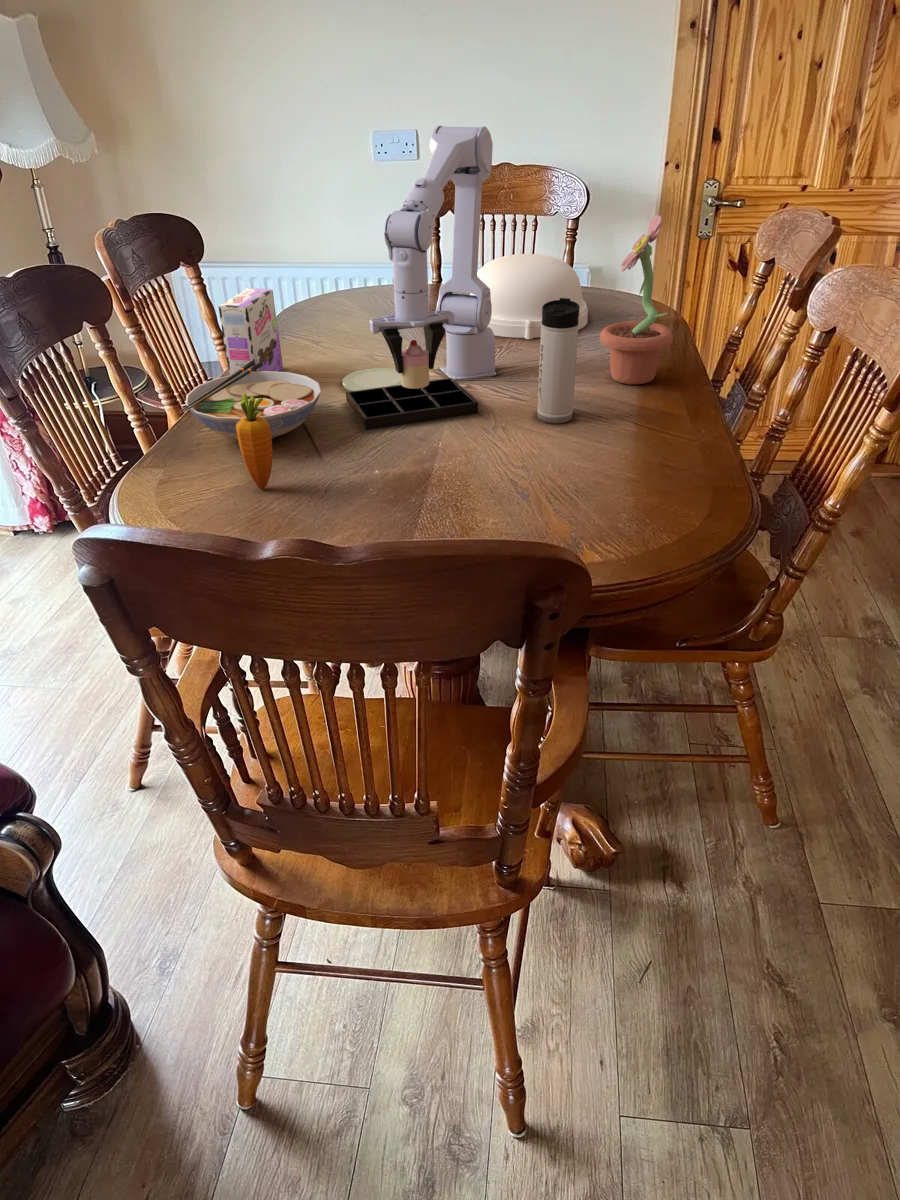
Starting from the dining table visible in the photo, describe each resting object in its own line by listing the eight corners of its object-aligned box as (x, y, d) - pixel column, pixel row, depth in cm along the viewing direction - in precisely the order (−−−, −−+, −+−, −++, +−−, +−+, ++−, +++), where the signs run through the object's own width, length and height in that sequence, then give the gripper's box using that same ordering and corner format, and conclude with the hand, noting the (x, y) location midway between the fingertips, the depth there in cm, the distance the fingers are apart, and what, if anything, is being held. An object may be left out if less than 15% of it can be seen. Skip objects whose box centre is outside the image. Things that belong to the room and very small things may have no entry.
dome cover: (595, 338, 189) (601, 273, 181) (462, 340, 189) (462, 274, 182) (579, 301, 215) (583, 242, 207) (463, 302, 216) (462, 244, 208)
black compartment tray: (346, 404, 158) (345, 392, 156) (452, 389, 163) (451, 377, 162) (365, 432, 146) (364, 419, 145) (478, 415, 152) (478, 402, 151)
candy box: (258, 392, 163) (246, 306, 154) (230, 391, 164) (216, 305, 155) (284, 369, 175) (273, 287, 165) (257, 368, 176) (245, 286, 166)
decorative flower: (598, 364, 174) (612, 206, 158) (667, 367, 172) (687, 208, 155) (594, 388, 162) (608, 221, 146) (667, 392, 160) (690, 222, 143)
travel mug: (575, 412, 152) (583, 299, 141) (568, 425, 147) (575, 309, 136) (542, 408, 154) (547, 296, 143) (533, 421, 149) (538, 306, 138)
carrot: (248, 483, 130) (232, 389, 122) (280, 481, 131) (266, 388, 122) (244, 497, 126) (227, 401, 118) (277, 495, 127) (263, 400, 118)
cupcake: (424, 377, 152) (423, 334, 147) (433, 386, 148) (432, 342, 143) (397, 381, 150) (394, 337, 146) (405, 390, 146) (403, 346, 142)
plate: (401, 368, 174) (401, 364, 174) (422, 390, 163) (421, 385, 163) (335, 376, 170) (335, 372, 170) (352, 399, 159) (351, 395, 159)
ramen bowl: (281, 472, 133) (274, 423, 129) (161, 453, 140) (150, 406, 136) (350, 415, 153) (346, 371, 148) (242, 401, 160) (235, 359, 155)
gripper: (375, 299, 135) (380, 382, 143) (460, 290, 139) (460, 371, 146) (364, 289, 140) (370, 369, 148) (446, 281, 144) (447, 359, 152)
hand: (414, 369), depth 148 cm, fingers closed on cupcake, 5 cm apart
